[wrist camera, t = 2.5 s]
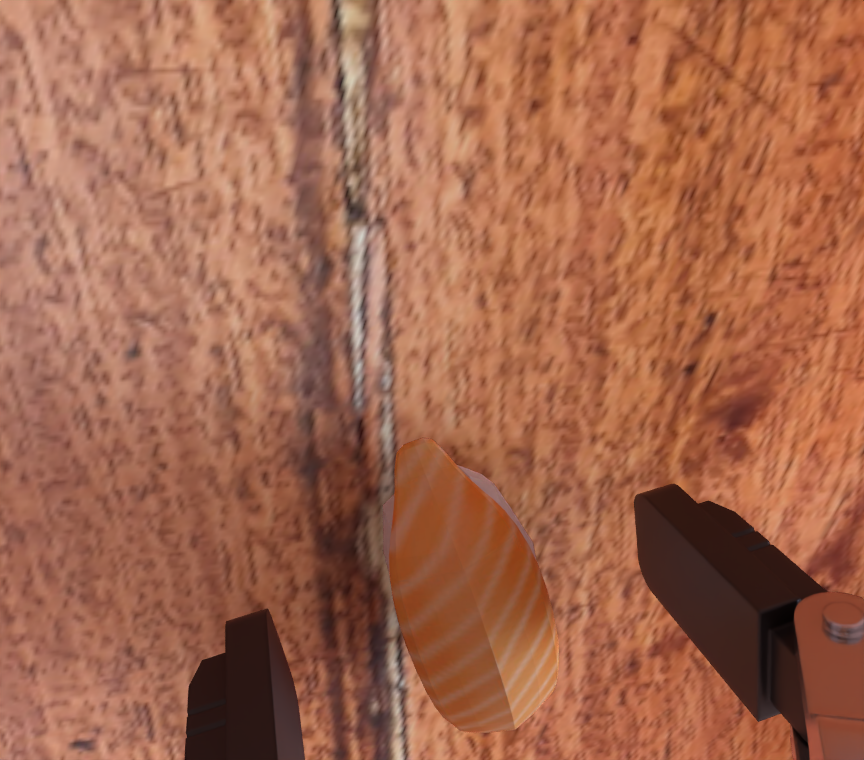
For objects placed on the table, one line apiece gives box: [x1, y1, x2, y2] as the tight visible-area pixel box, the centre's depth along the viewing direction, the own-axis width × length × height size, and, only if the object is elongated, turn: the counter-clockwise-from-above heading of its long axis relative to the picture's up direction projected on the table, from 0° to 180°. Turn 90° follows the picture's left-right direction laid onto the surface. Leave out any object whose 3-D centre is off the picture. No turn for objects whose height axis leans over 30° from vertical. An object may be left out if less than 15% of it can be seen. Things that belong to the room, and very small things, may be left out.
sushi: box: [383, 438, 559, 733], centre depth 14 cm, size 3×6×3 cm, turn 17°
